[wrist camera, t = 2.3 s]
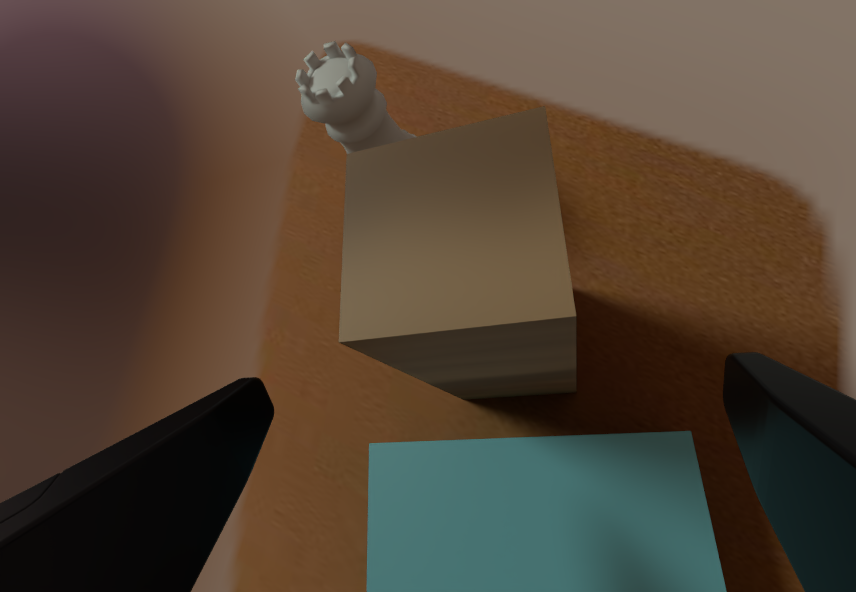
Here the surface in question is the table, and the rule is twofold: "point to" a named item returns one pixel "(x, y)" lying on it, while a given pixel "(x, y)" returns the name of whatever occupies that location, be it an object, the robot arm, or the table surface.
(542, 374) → the tan wooden block
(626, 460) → the base block
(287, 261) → the table surface
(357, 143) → the rook chess piece
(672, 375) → the table surface
